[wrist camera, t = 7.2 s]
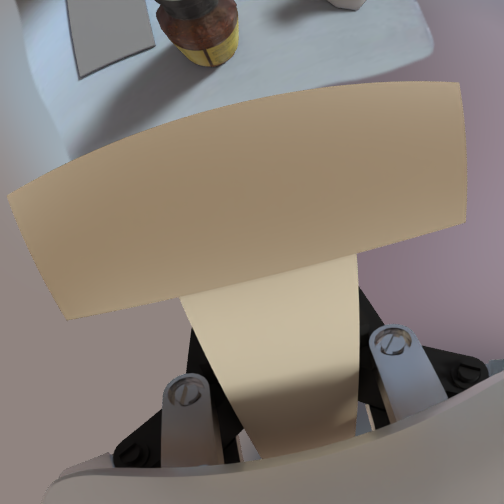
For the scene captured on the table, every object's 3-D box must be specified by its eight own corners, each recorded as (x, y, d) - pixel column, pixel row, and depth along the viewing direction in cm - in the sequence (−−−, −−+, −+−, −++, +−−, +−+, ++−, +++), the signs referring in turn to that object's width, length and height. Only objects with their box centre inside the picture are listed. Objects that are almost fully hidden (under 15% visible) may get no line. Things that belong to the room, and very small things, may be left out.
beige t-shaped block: (140, 139, 9) (6, 195, 3) (314, 95, 9) (459, 82, 3) (242, 401, 15) (252, 516, 9) (347, 376, 15) (387, 483, 9)
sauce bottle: (236, 20, 27) (247, -70, 9) (239, 66, 29) (254, 8, 11) (179, 26, 26) (132, -55, 8) (182, 72, 29) (129, 25, 11)
